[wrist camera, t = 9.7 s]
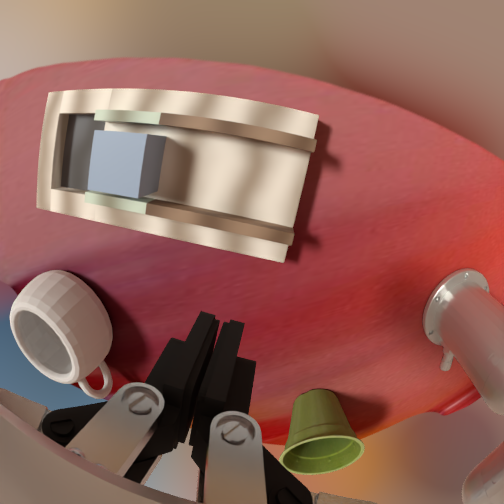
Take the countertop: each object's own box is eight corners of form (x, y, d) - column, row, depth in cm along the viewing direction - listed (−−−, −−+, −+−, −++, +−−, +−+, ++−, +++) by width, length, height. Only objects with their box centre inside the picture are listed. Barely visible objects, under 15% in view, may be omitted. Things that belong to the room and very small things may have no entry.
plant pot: (286, 427, 44) (286, 479, 33) (273, 385, 41) (271, 444, 30) (352, 415, 42) (363, 466, 32) (350, 370, 39) (365, 427, 28)
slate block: (166, 136, 28) (147, 133, 23) (157, 191, 30) (137, 198, 25) (118, 131, 28) (94, 130, 23) (111, 183, 30) (87, 189, 25)
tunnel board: (315, 118, 28) (323, 111, 24) (283, 255, 34) (284, 271, 29) (60, 94, 28) (37, 90, 24) (47, 204, 34) (25, 211, 29)
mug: (27, 286, 39) (-9, 312, 30) (77, 247, 36) (32, 274, 26) (93, 380, 45) (69, 415, 35) (155, 364, 41) (132, 409, 32)
